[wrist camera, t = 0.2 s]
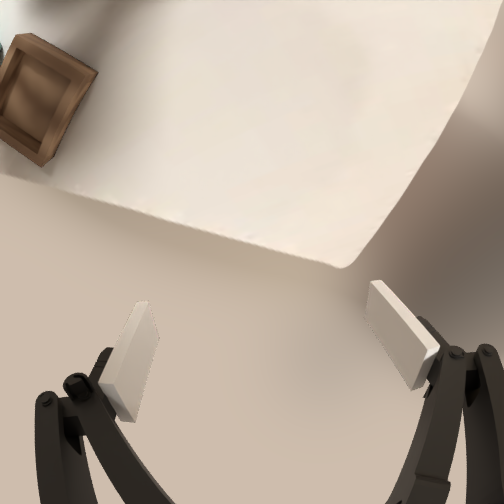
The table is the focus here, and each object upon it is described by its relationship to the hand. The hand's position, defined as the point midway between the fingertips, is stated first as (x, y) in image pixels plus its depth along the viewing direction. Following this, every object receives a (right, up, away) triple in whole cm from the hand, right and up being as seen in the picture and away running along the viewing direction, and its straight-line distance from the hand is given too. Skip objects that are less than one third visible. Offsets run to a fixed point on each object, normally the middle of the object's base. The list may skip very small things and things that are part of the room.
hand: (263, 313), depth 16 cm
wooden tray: (-31, +26, +11) cm, 42 cm away
